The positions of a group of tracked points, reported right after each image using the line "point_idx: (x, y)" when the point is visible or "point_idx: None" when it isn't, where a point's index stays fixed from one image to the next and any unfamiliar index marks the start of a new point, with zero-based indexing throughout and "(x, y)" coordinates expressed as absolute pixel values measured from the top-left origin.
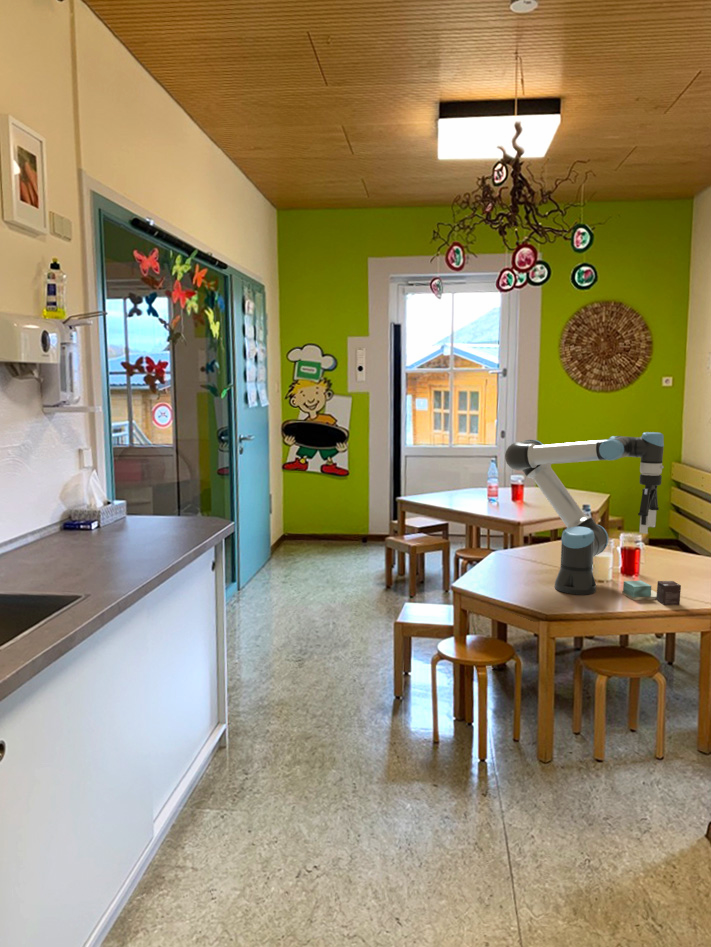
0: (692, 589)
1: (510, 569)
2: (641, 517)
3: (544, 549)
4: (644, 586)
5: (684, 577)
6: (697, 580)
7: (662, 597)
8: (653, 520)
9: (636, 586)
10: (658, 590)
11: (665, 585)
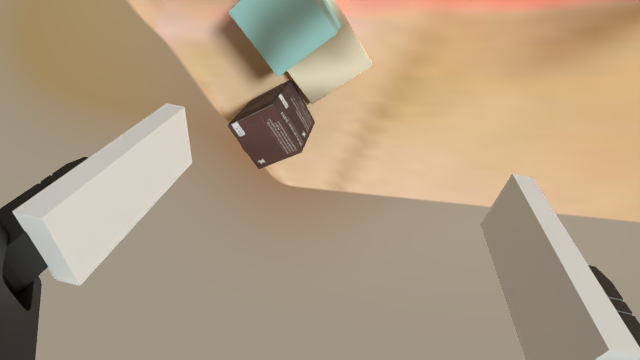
0: (455, 179)
1: None
2: (45, 205)
3: None
4: (259, 52)
5: (619, 171)
6: (576, 201)
7: (251, 103)
8: (506, 263)
9: (237, 21)
10: (269, 97)
11: (231, 127)
